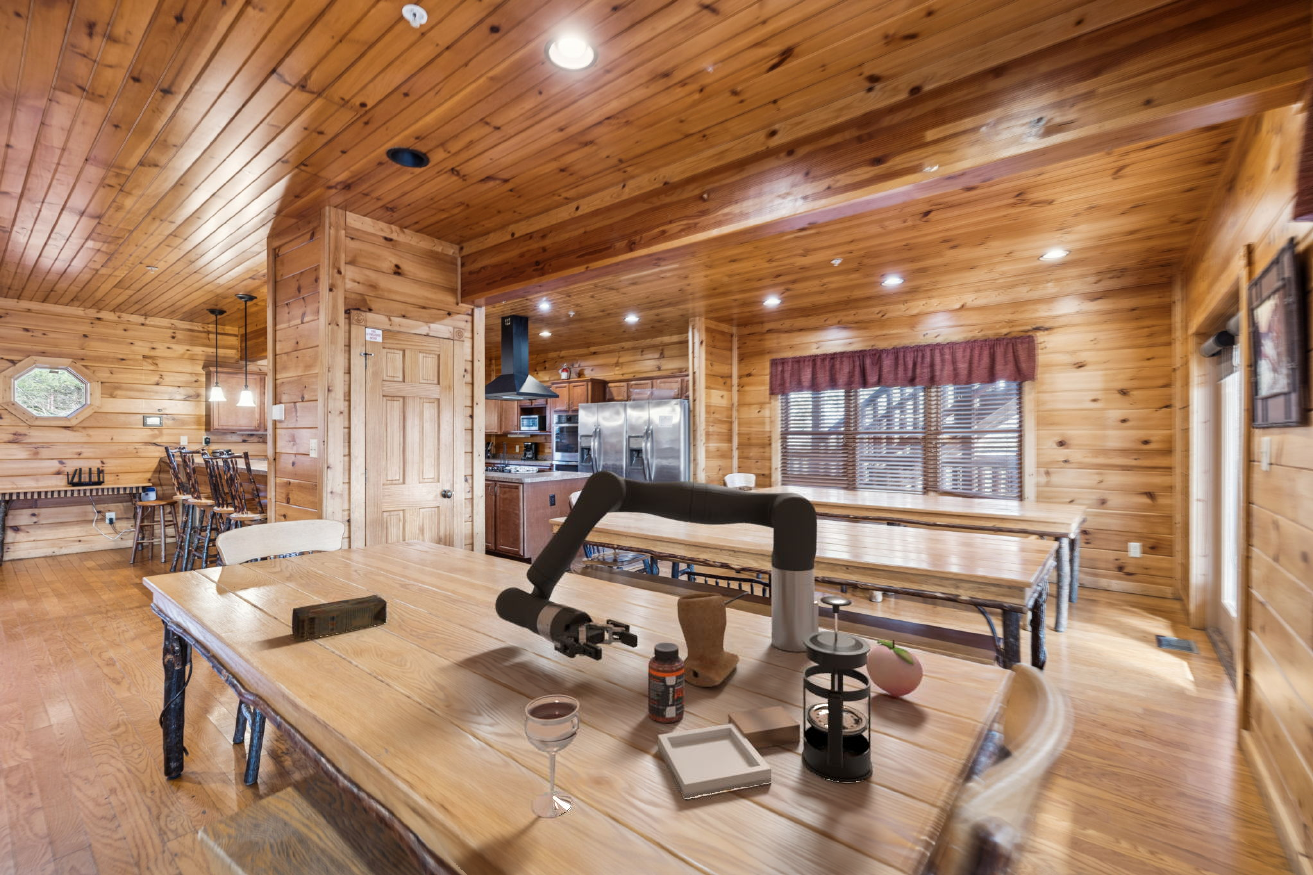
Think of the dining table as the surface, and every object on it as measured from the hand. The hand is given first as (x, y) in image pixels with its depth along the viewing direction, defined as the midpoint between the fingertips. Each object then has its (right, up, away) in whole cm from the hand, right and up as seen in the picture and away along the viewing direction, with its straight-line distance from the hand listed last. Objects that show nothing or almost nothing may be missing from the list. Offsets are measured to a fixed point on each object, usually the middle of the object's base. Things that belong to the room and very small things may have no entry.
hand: (619, 647), depth 98 cm
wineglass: (-6, -8, -30) cm, 31 cm away
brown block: (+23, -8, -14) cm, 28 cm away
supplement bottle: (+8, -8, -8) cm, 14 cm away
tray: (+14, -8, -22) cm, 27 cm away
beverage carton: (-69, -9, +34) cm, 78 cm away
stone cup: (+16, -8, +9) cm, 20 cm away
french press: (+32, -8, -22) cm, 39 cm away
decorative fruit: (+48, -8, -2) cm, 49 cm away
